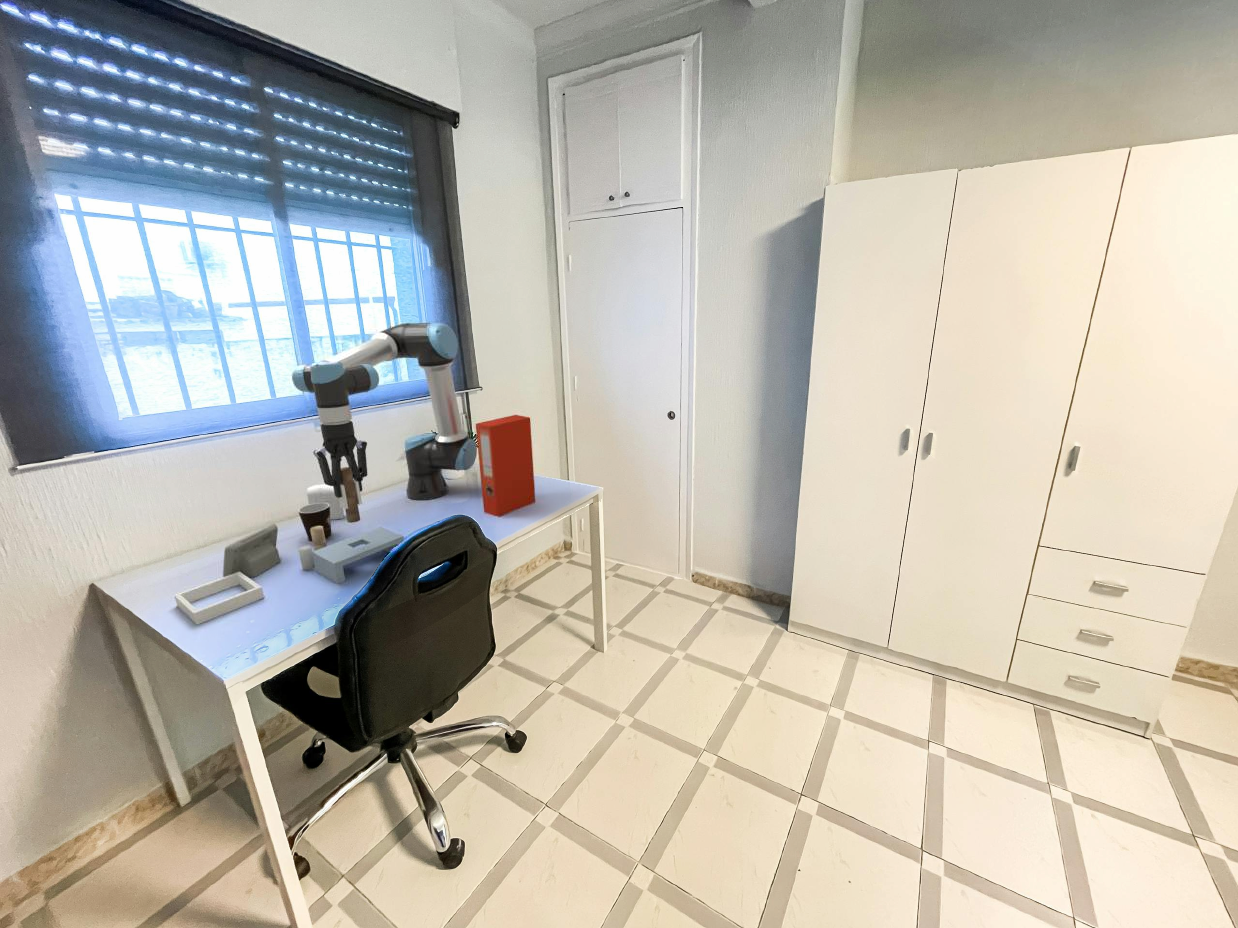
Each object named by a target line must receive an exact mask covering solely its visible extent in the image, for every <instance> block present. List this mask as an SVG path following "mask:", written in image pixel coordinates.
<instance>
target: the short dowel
mask: <svg viewBox="0 0 1238 928" xmlns="http://www.w3.org/2000/svg"><path fill="white" fill-rule="evenodd" d="M297 551H298V555H299V559H300V563H301V567H302V570H303V571H310V570H313V569H315V564H314V559H313V555H312V552H313V547H312V546H311V545H304V546H301V547H299V548H298V550H297Z"/></svg>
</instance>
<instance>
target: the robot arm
mask: <svg viewBox="0 0 1238 928" xmlns="http://www.w3.org/2000/svg"><path fill="white" fill-rule="evenodd" d="M458 348H459V344H458V338H457V335H456V333H455V332H454V330H453V329H452V328H451V327H450V326H449V325H447V324H445V323H442V322H441V323H440V322H439V323H437V322H417V323H415V322H414V323H412V322H408V323H406V322H405V323H400V324H397V325H394V326H391V327H389V328H386V329H383V330H381V331H378V332H377V333H374V335H373V336H371V339H369V340H366V341H365V342H362V343H360V344H358V345H356V346H354V347H351V348H348V349H346V350H345V351H342V352H340V353H338V354H336V355H333V356H331V357H328V358H326V359H324V360H322V361H321V360H320V361H317V362H313V363H311V364H302V365H298V366H296V367H295V368H294V369H293V370H292V375H291V380H292V384H293V385H294V387H295V388H296V389H297V390H298V391H300V392H303V393H310V394H314V398H315V402H316V409H317V413H318V419H319V422H320V423H321V424H320V430H321V436H322V439H323V442H322V447H320V448H319V449H318V450H317V449H315V450H313V455H314V457H316V459H317V462H318V465H319V468H320V472H321V475H322V479H323V484H326V485H329V486H333V488H334V493H335V496H336V497H337V498H339V502H340V507H342V508H343V510H345V509H347V508H348V504H347V498H346V493H345V487H344V485H341V468H342V467H341V466H342V464H341V462H342V460H343V459H342V457H345V460H346V463H347V466H348V467H351V469H352V475H353V480H354V486H355V492H356V498H357V503H358V506H359V505H362V504H363V502H362V496H361V492H363V484H362V482H363V480H364V478H366V477H367V476H368V466H367V453H366V449H367V447H368V442H367V441H365V440H358V439H357V437H356V436H355V428H354V427H355V426H354V422H353V421H352V419H353V417H352V411H351V410H352V409H351V406H350V405H351V404H350V399H349V396H354V395H358V394H362V393H368V392H371V391H373V390H375V389H377V387H378V386H379V382H380V376H379V372H378V371H377V370H376V368H375V366H377V365H379V364H380V363H383V362H391V361H394V360H397V359H417V362H418V366H419V368H421V369H423V370H424V372H425V373H424V374H425V378H426V382H427V383H426V384H427V388H428V392H429V396H430V401H431V405H432V410H433V415H434V419H435V420H434V421H435V424H436V428H437V429H436V430H437V434H436V433H435V432H428V433H427V432H426V433H421V434H416V435H413V436H410V437H408V438H406V440H405V441H404V452H405V458H406V464H407V471H408V481H407V485H406V486H407V487H406V497H407V498H408V499H411V500H416V501H421V500H422V501H423V500H426V501H427V500H432V499H437V498H439V497H443V496H444V495H446V494H447V493H448V492H449V489H448V488H449V487H448V484H447V481H446V479H445V477H444V476H443V474H442V470H449V471H457V472H459V471H467V470H470V469H471V468H473V465H474V463H475V462H476V459H477V453H478V444H476V442H475V440H474V439H471V438H469V434H468V432H467V431H466V430H465V429H463V426H462V421H461V415H460V410H459V404H458V400H457V395H456V394H457V393H456V390H455V385H454V384H455V383H454V379H453V373H452V369H451V366H452V365H453V363H454V362H455V361H454V358H455V357H456V356H457V355H458ZM355 448H356V455H355V453H354V449H355ZM326 452H327V453H328V454H329V455H330V457H329V458H330V462H331V469H330V465H329V462H328V460H327V457H326V456H327V453H326ZM355 456H357V457H356V458H355ZM356 459H357V460H356Z"/></svg>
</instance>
